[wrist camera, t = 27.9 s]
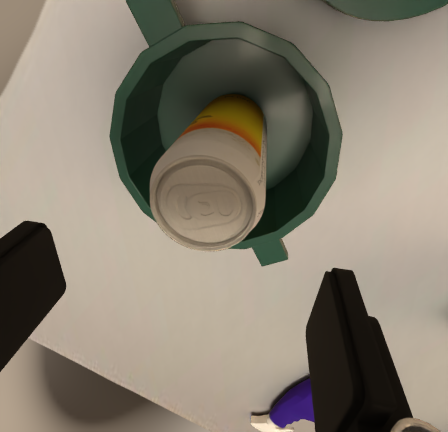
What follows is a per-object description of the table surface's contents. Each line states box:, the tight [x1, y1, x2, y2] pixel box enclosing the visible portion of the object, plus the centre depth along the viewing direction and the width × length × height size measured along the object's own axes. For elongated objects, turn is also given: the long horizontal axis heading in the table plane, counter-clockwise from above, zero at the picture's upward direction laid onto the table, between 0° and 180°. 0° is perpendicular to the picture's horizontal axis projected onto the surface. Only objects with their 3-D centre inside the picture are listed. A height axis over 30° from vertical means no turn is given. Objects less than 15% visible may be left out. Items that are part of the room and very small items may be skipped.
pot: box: [110, 0, 343, 266], centre depth 24 cm, size 16×21×8 cm
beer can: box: [150, 94, 267, 251], centre depth 21 cm, size 6×6×15 cm
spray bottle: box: [251, 378, 314, 432], centre depth 48 cm, size 3×11×24 cm
